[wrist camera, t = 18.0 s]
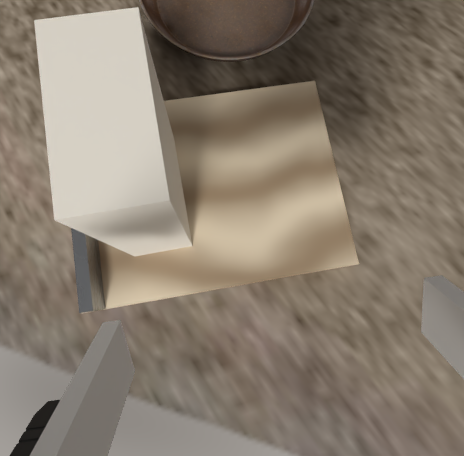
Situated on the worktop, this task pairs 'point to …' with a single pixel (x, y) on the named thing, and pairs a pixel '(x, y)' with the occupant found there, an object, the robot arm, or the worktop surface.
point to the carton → (109, 133)
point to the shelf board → (244, 198)
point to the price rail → (88, 272)
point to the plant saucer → (227, 25)
